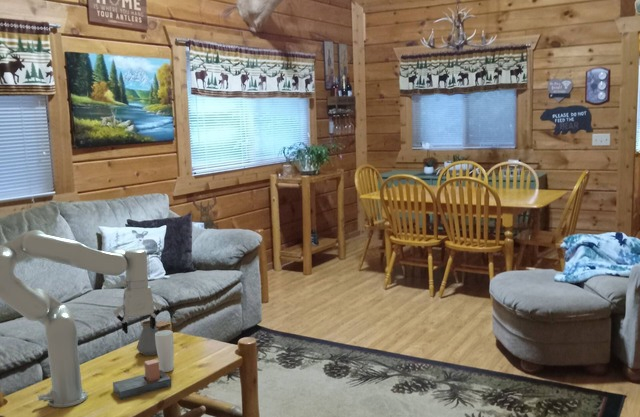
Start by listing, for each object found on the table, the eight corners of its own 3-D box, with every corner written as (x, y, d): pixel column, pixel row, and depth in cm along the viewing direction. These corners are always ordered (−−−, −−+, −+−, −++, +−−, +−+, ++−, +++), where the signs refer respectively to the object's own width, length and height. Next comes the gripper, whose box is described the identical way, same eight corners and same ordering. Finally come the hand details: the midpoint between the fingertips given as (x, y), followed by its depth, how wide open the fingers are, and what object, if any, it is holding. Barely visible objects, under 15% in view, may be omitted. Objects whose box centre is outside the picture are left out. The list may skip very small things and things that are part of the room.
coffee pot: (131, 353, 261) (128, 318, 259) (155, 345, 270) (152, 311, 268) (161, 364, 247) (157, 328, 245) (184, 355, 256) (182, 320, 254)
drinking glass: (171, 373, 237) (168, 336, 235) (154, 373, 238) (151, 335, 236) (178, 367, 244) (175, 330, 242) (162, 366, 245) (159, 329, 243)
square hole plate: (121, 400, 216) (120, 391, 215) (113, 390, 224) (112, 382, 224) (171, 386, 226) (170, 378, 225) (162, 377, 234) (161, 370, 234)
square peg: (149, 388, 224) (147, 364, 223) (146, 385, 228) (144, 361, 226) (160, 385, 226) (158, 362, 225) (157, 382, 230) (155, 359, 229)
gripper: (115, 289, 216) (117, 337, 218) (164, 282, 225) (165, 328, 227) (110, 285, 223) (112, 331, 225) (157, 279, 231) (159, 323, 233)
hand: (139, 330), depth 226 cm, fingers open, 9 cm apart
